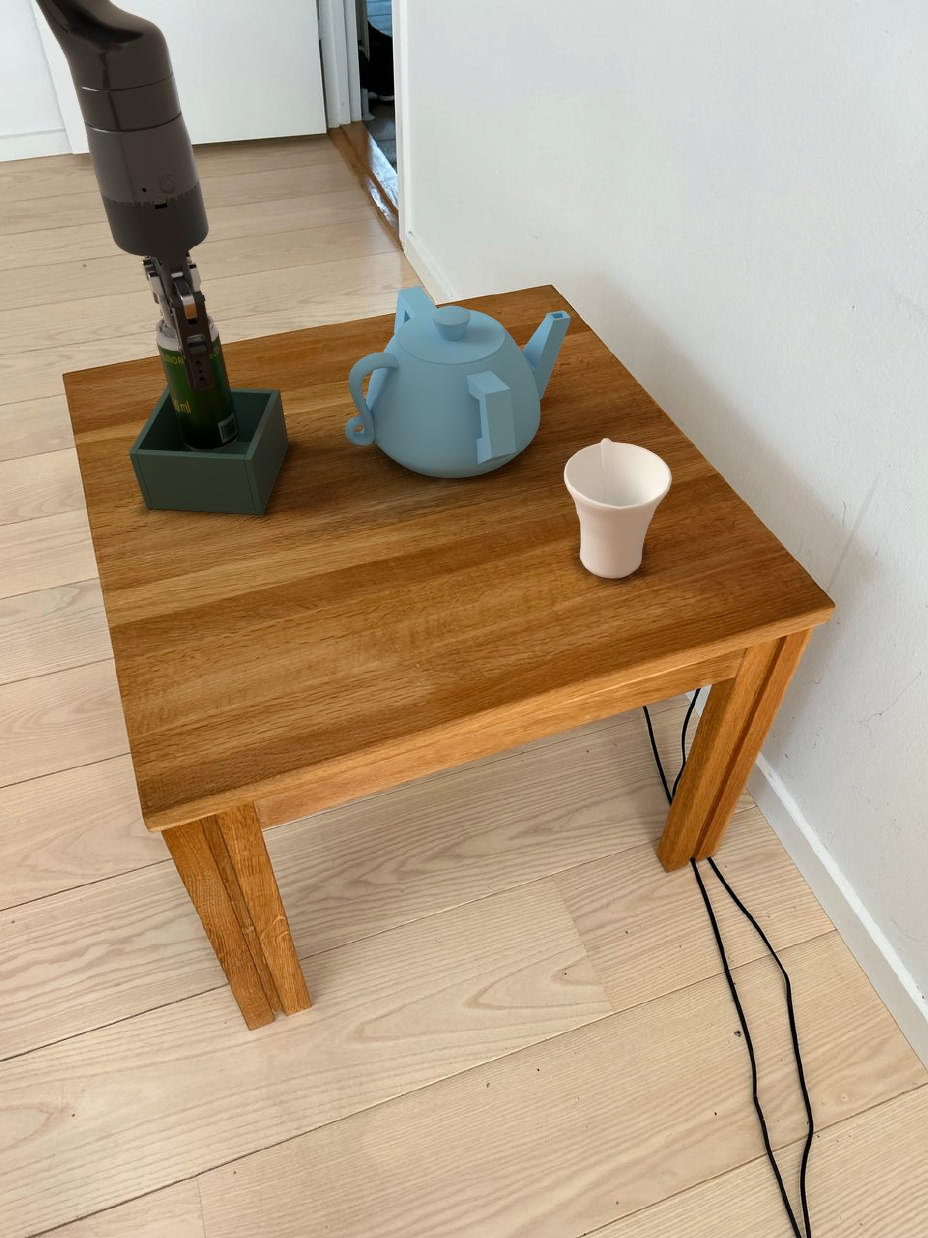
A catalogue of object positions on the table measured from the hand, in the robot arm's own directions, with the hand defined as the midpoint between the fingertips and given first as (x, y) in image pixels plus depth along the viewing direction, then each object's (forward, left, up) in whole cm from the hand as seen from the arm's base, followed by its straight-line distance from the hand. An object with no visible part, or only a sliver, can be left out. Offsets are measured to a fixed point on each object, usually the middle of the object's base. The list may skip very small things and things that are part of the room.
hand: (195, 371), depth 84 cm
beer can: (0, 0, -8) cm, 8 cm away
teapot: (+23, +9, -12) cm, 27 cm away
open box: (0, 0, -12) cm, 12 cm away
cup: (+38, -9, -12) cm, 41 cm away
